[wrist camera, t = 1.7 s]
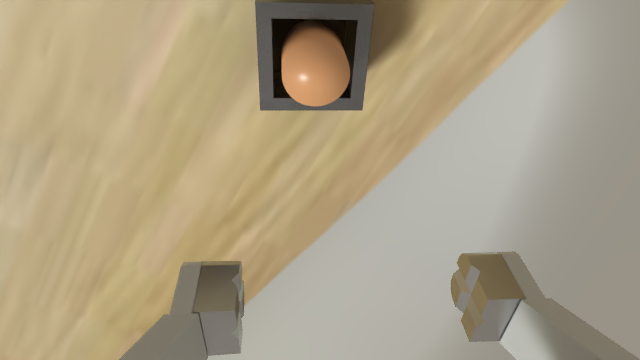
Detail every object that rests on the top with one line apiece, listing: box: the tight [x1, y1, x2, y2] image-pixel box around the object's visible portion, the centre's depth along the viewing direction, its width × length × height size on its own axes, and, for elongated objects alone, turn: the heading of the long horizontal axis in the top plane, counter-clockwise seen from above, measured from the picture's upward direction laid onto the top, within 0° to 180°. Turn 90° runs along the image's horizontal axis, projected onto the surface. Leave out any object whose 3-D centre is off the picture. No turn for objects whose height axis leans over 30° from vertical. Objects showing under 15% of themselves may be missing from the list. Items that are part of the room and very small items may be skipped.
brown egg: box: [281, 20, 350, 106], centre depth 24 cm, size 4×4×4 cm
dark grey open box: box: [255, 0, 374, 110], centre depth 26 cm, size 6×6×4 cm
